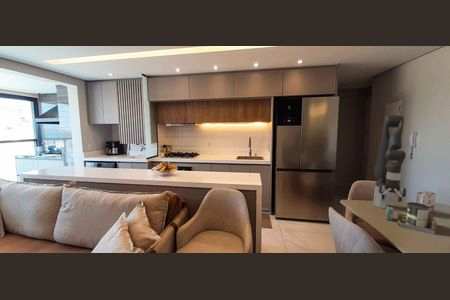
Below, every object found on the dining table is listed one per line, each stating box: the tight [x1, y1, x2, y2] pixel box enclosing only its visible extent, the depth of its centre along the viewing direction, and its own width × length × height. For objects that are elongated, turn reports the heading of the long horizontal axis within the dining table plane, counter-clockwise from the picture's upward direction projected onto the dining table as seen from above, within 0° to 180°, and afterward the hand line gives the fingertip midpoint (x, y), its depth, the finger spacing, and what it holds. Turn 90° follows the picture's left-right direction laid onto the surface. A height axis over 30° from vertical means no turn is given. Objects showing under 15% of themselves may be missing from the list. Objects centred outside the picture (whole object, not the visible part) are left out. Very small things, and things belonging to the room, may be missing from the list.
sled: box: [385, 206, 437, 232], centre depth 131 cm, size 23×15×8 cm, turn 54°
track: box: [396, 212, 436, 235], centre depth 129 cm, size 16×18×2 cm
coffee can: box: [405, 201, 429, 228], centre depth 128 cm, size 10×10×14 cm
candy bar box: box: [415, 190, 436, 215], centre depth 144 cm, size 11×5×16 cm, turn 101°
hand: (391, 200), depth 135 cm, fingers open, 8 cm apart
